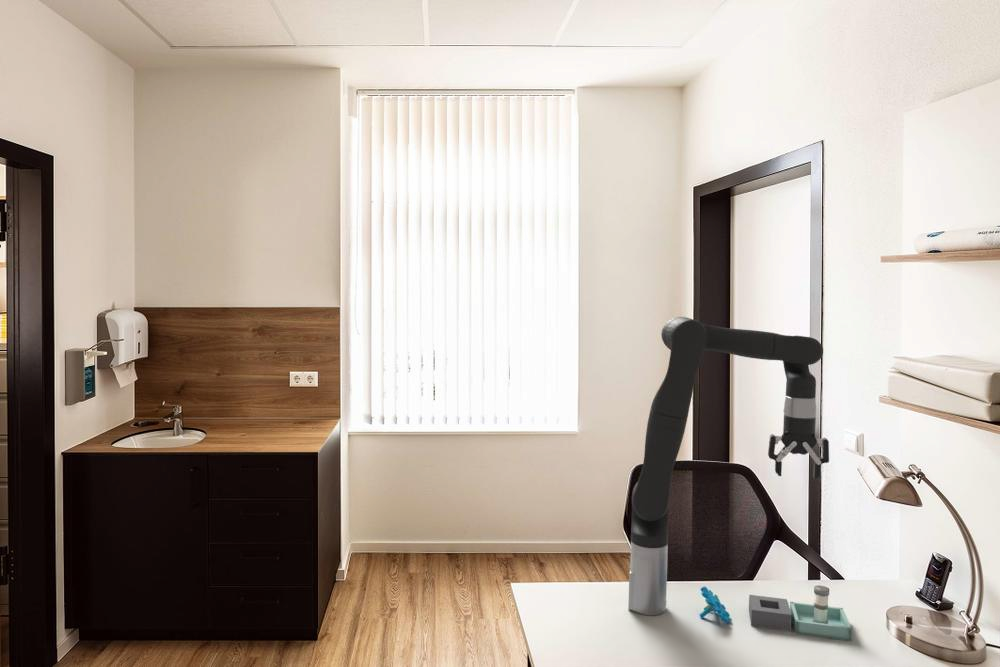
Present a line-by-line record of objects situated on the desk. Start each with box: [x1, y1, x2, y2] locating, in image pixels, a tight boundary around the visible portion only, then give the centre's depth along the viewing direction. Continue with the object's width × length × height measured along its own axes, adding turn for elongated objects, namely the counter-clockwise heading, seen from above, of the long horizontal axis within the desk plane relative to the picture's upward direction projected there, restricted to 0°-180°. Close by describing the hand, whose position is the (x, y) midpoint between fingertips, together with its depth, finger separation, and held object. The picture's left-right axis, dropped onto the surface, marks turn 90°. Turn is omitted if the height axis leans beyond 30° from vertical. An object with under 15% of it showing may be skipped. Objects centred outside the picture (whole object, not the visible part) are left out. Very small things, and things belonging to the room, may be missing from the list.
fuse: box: [813, 585, 830, 624], centre depth 173 cm, size 3×3×9 cm
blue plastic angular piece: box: [698, 585, 732, 624], centre depth 178 cm, size 11×6×10 cm
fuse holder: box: [748, 594, 792, 632], centre depth 177 cm, size 9×9×4 cm
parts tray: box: [789, 601, 853, 642], centre depth 174 cm, size 12×11×3 cm
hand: (797, 476), depth 182 cm, fingers open, 8 cm apart
